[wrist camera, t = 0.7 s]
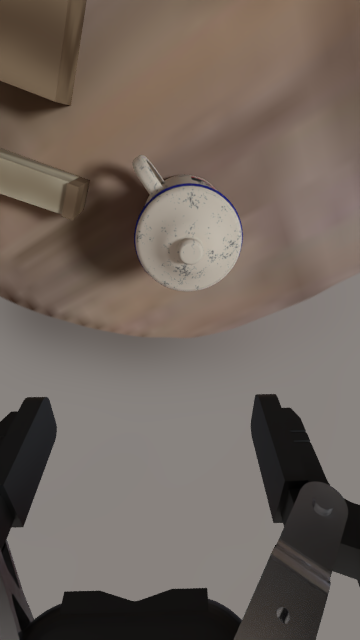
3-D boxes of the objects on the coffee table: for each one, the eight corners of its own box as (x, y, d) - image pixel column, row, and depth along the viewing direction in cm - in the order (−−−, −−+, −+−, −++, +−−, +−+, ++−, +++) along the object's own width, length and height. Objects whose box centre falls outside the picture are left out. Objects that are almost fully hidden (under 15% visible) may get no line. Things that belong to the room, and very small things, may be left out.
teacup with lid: (242, 228, 36) (271, 267, 26) (174, 274, 38) (176, 325, 28) (179, 122, 31) (185, 118, 20) (105, 182, 33) (77, 205, 23)
